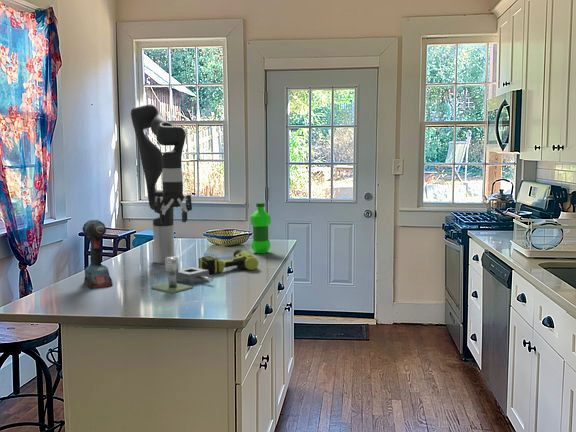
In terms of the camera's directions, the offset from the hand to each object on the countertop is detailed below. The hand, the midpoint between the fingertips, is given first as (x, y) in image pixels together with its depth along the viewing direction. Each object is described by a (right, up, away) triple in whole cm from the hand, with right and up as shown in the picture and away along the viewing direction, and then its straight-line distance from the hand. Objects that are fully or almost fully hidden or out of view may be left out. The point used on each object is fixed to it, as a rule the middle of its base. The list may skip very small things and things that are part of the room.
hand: (173, 223), depth 216 cm
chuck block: (+7, -23, +9) cm, 26 cm away
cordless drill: (+15, -21, +36) cm, 44 cm away
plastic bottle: (+29, -16, +71) cm, 79 cm away
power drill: (-30, -24, +6) cm, 39 cm away
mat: (0, -24, -1) cm, 24 cm away
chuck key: (0, -24, -2) cm, 24 cm away
